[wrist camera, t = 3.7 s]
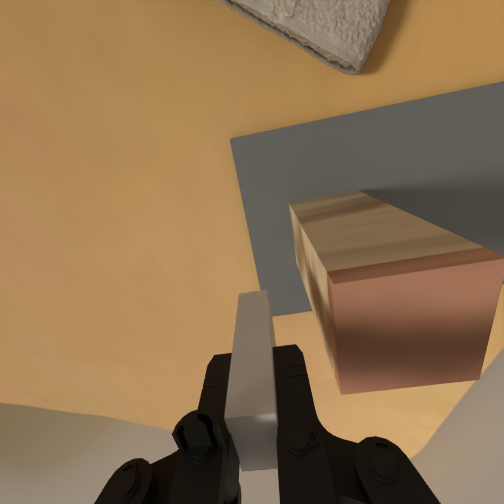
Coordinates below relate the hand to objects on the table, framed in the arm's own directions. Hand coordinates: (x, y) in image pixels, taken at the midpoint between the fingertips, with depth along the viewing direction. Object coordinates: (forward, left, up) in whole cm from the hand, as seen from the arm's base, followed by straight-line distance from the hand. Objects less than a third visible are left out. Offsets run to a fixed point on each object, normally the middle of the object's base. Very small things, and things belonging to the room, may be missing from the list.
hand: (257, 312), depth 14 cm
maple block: (0, +6, -11) cm, 13 cm away
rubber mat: (0, +12, -12) cm, 17 cm away
